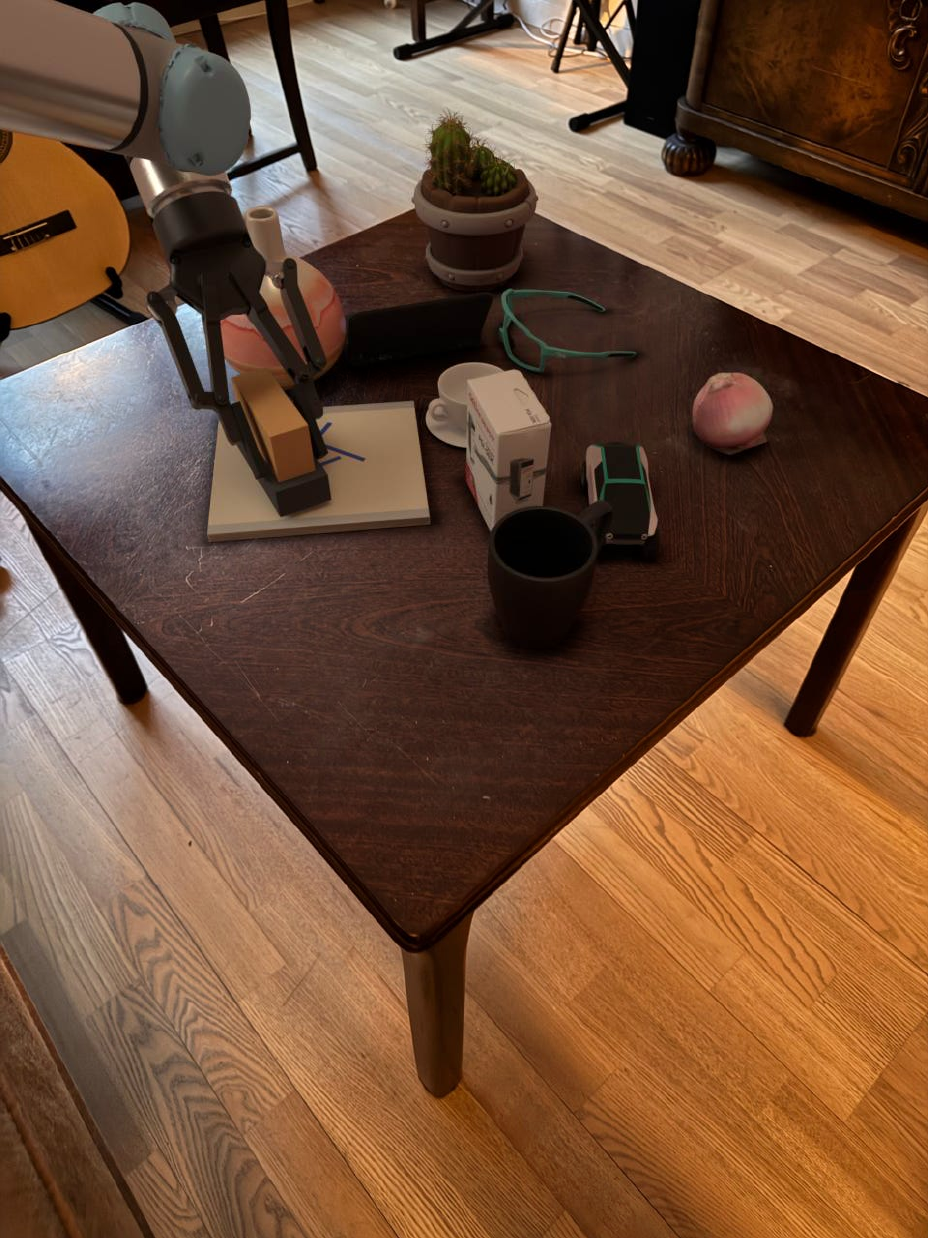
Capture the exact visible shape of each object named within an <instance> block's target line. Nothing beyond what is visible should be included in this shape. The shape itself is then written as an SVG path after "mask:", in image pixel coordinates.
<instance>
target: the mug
mask: <svg viewBox="0 0 928 1238" xmlns="http://www.w3.org/2000/svg"><path fill="white" fill-rule="evenodd" d="M612 518H613V509H612V506H611V505H610V504H609V503H608V502H606V501H604V500H598V501H595V502H594V503H592V504H590V505H587V506H586V507H585V508H583V509H582V510H581V511H580V512H578V513H577V514H575V513H573V512H571V511H569V510H566V509H563V508H560V507H555V506H549V505H543V506H531V507H524V508H521V509H517V510H514V511H512V512H510V513H508V514H506V515H505V516H503V517H502V518H501V519H500V520H498V522H497V523H496V524H495V525H494V527H493V528H492V530H491V531H490V533H489V536H488V548H487V580H488V586H489V587H488V588H489V591H490V595H491V600H492V603H493V606H494V610H495V613H496V615H497V618H498V620H499V623H500V625H501V629H502V632H503V633H504V635H505V637H506V638H507V639H508V640H509V641H510V642H511V643H513V644H514V645H516V646H518V647H520V648H523V649H526V650H531V651H541V650H548V649H551V648H554V647H555V646H557V645H559V644H560V643H561V642H563V640H565V638H566V636H567V635H568V633H569V631H570V629H571V628H572V626H573V625H574V623H575V622H576V620H577V619H578V617H579V615H580V613H581V612H582V610H583V608H584V606H585V603H586V601H587V599H588V597H589V594H590V591H591V588H592V584H593V581H594V576H595V571H596V567H597V566H596V565H597V561H598V556H597V554H598V551H599V549H600V547H601V545H602V543H603V541H604V539H605V537H606V534H607V532H608V530H609V527H610V525H611V522H612ZM593 522H594V524H593ZM590 525H593V527H592V529H591V527H590ZM602 546H603V545H602Z"/></svg>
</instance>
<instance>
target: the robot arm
mask: <svg viewBox="0 0 928 1238" xmlns="http://www.w3.org/2000/svg"><path fill="white" fill-rule="evenodd" d="M251 120H252V107H251V100H250V96H249V92H248V89H247V86H246V84H245V82H244V80H243V78H242V76H241V74H240V73H239V71H238V70H237V69H236V68H235V66H233V64H232V63H231V62H230V61H229V60H227V59H226V58H224V57H223V56H220V55H218V54H216V53H213V52H210V51H207V50H204V49H203V48H201V47H199V46H198V45H193V44H191V43H184V44H183V43H178V42H177V40H176V39H175V36H174V34H173V32H172V29H171V27H170V25H169V23H168V21H167V20H166V18H165V17H164V16H163V15H162V14H161V13H160V12H159V11H158V10H156V9H155V8H153V7H152V6H149V5H147V4H145V3H141V2H137V1H136V2H135V1H134V2H131V3H130V4H127V5H124V4H123V3H122V2H115V3H110V4H108V5H104V6H102V7H101V8H99V9H97V10H96V11H94V12H93V13H91V12H88V11H85V10H82V9H79V8H76V7H74V6H71V5H68V4H65V3H62V2H60V1H57V0H0V131H6V132H10V133H14V134H19V135H25V136H31V137H34V138H40V139H44V140H45V139H46V140H51V141H55V142H61V143H65V144H71V145H75V146H81V147H86V148H90V149H95V150H100V151H104V152H108V153H112V154H116V155H122V156H124V158H125V160H126V163H127V166H128V168H129V170H130V172H131V175H132V176H133V179H134V182H135V185H136V187H137V190H138V193H139V194H140V198H141V200H142V203H143V205H144V207H145V208H144V209H145V211H146V214H147V216H149V217H150V219H152V229H153V232H154V234H155V236H156V239H157V242H158V244H159V247H160V250H161V252H162V254H163V257H164V260H165V262H166V265H167V268H168V271H169V278H168V279H169V281H168V284H167V285H166V286H164V287H163V288H161V289H160V290H158V291H153V290H152V291H149V292H148V293H147V294H146V306H145V308H146V311H147V313H148V314H149V315H150V316H151V317H152V319H153V320H154V321H155V322H156V324H157V325H158V326H159V327H160V328H161V331H162V333H163V336H164V339H165V342H166V344H167V347H168V349H169V352H170V354H171V357H172V359H173V362H174V365H175V367H176V371H177V373H178V375H179V379H180V381H181V384H182V385H183V389H184V391H185V393H186V396H187V399H188V401H189V404H190V406H191V408H192V409H194V410H196V411H201V410H209V411H210V410H211V411H213V412H215V413H216V415H217V416H218V420H219V419H220V422H221V425H222V427H223V430H224V432H225V435H226V437H227V440H228V442H229V443H230V444H231V445H232V446H234V445H237V444H240V443H242V446H243V448H244V451H245V453H246V456H247V458H248V461H249V464H250V466H251V469H252V471H253V474H254V476H255V479H256V480H258V479H261V478H264V477H265V476H266V475H267V473H268V472H267V469H266V467H265V464H264V462H263V459H262V457H261V454H260V451H259V449H258V446H257V444H256V441H255V438H254V436H253V433H252V431H251V428H250V426H249V423H248V420H247V418H246V415H245V413H244V410H243V407H242V405H241V402H240V401H238V402H236V401H235V402H232V403H231V400H230V399H231V398H230V391H229V382H228V373H227V367H226V360H225V357H224V349H223V341H222V332H221V320H224V319H226V318H228V317H229V316H231V315H244V314H245V315H246V316H247V318H248V319H249V321H250V322H251V323H252V324H254V325H255V327H256V328H257V330H258V331H259V333H260V334H261V336H262V337H263V338H264V340H265V341H266V343H267V344H268V346H269V347H270V349H271V350H272V352H273V353H274V355H275V356H276V358H277V359H278V361H279V362H280V363H281V365H282V366H283V368H284V369H285V371H286V372H287V374H288V375H289V377H290V378H291V380H292V381H293V383H294V384H295V385H293V387H292V389H291V390H289V391H288V393H289V396H290V400H291V402H292V403H293V404H294V406H295V407H296V409H297V410H298V411H299V413H300V414H301V416H302V417H303V418H304V420H305V421H306V423H307V424H308V426H309V433H310V439H311V445H312V451H313V454H314V456H315V457H316V459H317V460H319V459H322V458H323V457H324V456H326V455H327V454H328V451H327V448H326V445H325V443H324V440H323V438H322V435H321V432H320V430H319V427H318V424H317V422H316V420H317V419H320V418H321V417H322V416H323V407H324V406H323V405H322V403H321V400H320V397H319V394H318V392H317V389H316V387H315V386H316V385H315V384H314V383H315V382H313V379H314V378H315V377H316V376H317V375H319V374H320V373H321V372H322V371H323V369H324V368H325V366H326V365H327V359H326V356H325V354H324V351H323V348H322V346H321V343H320V341H319V338H318V336H317V333H316V330H315V328H314V325H313V323H312V320H311V317H310V315H309V312H308V310H307V307H306V304H305V302H304V299H303V297H302V294H301V292H300V289H299V286H298V277H297V263H296V261H295V260H294V259H292V258H287V259H285V260H284V262H276V261H266V260H265V259H264V257H263V256H262V255H261V254H260V253H259V252H258V251H257V250H256V248H255V247H254V245H253V243H252V240H251V237H250V235H249V232H248V229H247V223H246V220H245V219H244V216H243V214H242V211H241V208H240V206H239V203H238V201H237V199H236V197H233V196H232V194H233V187H232V184H231V181H230V179H229V176H228V174H227V172H228V171H229V170H230V169H232V168H233V167H234V166H235V165H236V164H237V162H239V160H240V158H241V157H242V156H243V154H244V151H245V149H246V147H247V144H248V142H249V138H250V133H249V131H250V129H251ZM264 275H265V276H268V277H269V278H270V279H271V281H272V284H273V286H274V287H276V288H278V289H280V293H281V298H282V301H283V304H284V306H285V309H286V311H287V314H288V316H289V319H290V322H291V324H292V327H293V329H294V332H295V334H296V337H297V340H298V342H299V345H300V347H301V350H302V352H303V355H304V358H305V360H306V363H307V364H305V362H304V361H303V359H302V358H301V356H300V355H299V353H298V352H297V350H296V349H295V348H294V346H293V345H292V343H291V342H290V340H289V339H288V337H287V336H286V334H285V333H284V331H283V330H282V328H281V327H280V325H279V324H278V322H277V321H276V319H275V318H274V316H273V315H272V313H271V312H270V310H269V308H268V305H267V303H266V301H265V300H264V298H263V297H262V295H261V294H260V289H261V285H262V282H263V278H264ZM176 299H179V300H181V301H182V302H183V303H185V304H186V305H187V306H189V307H190V308H191V309H193V311H195V312H197V313H198V314H200V315H201V322H202V330H203V335H204V342H205V351H206V359H207V367H208V375H209V382H210V391H205V388H204V386H203V383H202V381H201V378H200V375H199V373H198V369H197V367H196V365H195V361H194V360H193V359H194V358H193V357H192V354H191V351H190V349H189V346H188V343H187V341H186V338H185V336H184V333H183V329H182V328H181V325H180V323H179V320H178V318H177V316H176V315H177V312H178V304H177V302H176Z"/></svg>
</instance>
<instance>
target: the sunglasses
mask: <svg viewBox="0 0 928 1238" xmlns="http://www.w3.org/2000/svg"><path fill="white" fill-rule="evenodd" d="M536 296H547V297H552V298H555V299H568V300H572V301H574V302H579V303H581V304H582V305H583V304H584V305H585V306H588V307H590V308H592V309H594V310H596V311H597V312H599V313H603V312H606V310H607V309H606V308H605V307H603V306H602V305H600V304H598V303H596V302H594V301H592V300H590V299H589V298H586V297H583V296H582V295H579V294H576V293H573V292H568V291H558V290H557V291H556V290H543V289H542V290H540V289H513V288H508V289H507V290H505V291H504V292H503V293H502V295H501V297H500V300H501V306H502V309H503V311H504V317H503V322H502V327H499V328H498V338H499V342H501V343H502V344H503V347H504V350H505V353H506V356H507V357H508V358H509V359H510V360H511V362H513V363H514V364H516V365H518V366H519V367H521V368H522V369H525V370H528V371H531V372H535V373H543V372H545V368H546V364H547V363H546V362H547V357H551V358H552V357H553V358H557V359H560V360H563V359H569V358H579V359H580V358H581V359H591V360H601V359H611V358H634V357H635V356H636V355H637V352H636V351H622V350H621V351H616V350H615V351H602V352H585V351H575V350H568V349H563V348H558V347H553V346H549V345H548V344H547V343H546V342H544V341H543V340H541V339H539V338H538V337H536V336H535V335H533V334H532V333H531V332H530V330H529V329H528V328H527V327H526V326H524V325H523V323H521V321H519V320H518V319H517V318H516V317H515V315H514V300H516V299H524V300H526V299H528V298H532V297H536ZM507 297H508V298H507ZM511 322H513V323H514V324H515V325H516V326H517V327H518V328H519V329H520V330H521V331H523V333H524V335H525V336H526V337H528V338H529V339H530V340H532V341H533V342H535V343H537V344H538V345H539V346H540V361H539V367H535V366H532V365H528V364H526V363H524V362H522V361H520V360H519V359H518V358H516V357H515V356H514V355H513V353H512V352H513V351H515V349H516V348H517V346H516V343H515V340H514V338H513V336H512V335H511V333H510V331H509V328H508V327H509V326H510V324H511Z"/></svg>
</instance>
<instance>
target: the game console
mask: <svg viewBox="0 0 928 1238" xmlns="http://www.w3.org/2000/svg"><path fill="white" fill-rule="evenodd" d="M493 302H494V295H493V294H492V293H491V292H488V291H482V292H476V293H470V294H465V295H458V296H452V297H446V298H439V299H433V300H426V301H420V302H414V303H408V304H402V305H395V306H389V307H383V308H377V309H376V308H375V309H370V310H369V309H368V310H364V311H363V310H362V311H359V312H356V313H349V314H345V319H346V340H345V344H344V347H343V350H342V351H343V353H344V356H345V359H346V360H347V364H348V366H350V367H361V366H365V365H369V364H376V363H381V362H386V361H394V360H400V359H403V358H408V357H410V356H412V355H413V356H414V355H419V354H420V355H421V354H424V355H426V354H427V355H428V354H435V353H442V352H446V351H453V350H460V349H464V348H473V347H477V346H480V345H481V343H482V337H483V336H482V335H483V334H482V331H483V329H484V327H485V324H486V321H487V318H488V316H489V313H490V311H491V307H492V305H493Z"/></svg>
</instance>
